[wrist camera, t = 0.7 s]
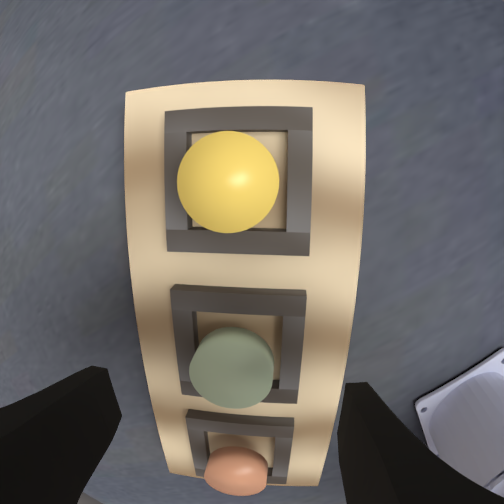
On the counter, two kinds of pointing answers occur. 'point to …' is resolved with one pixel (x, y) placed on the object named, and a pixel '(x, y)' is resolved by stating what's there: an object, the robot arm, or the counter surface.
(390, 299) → the counter surface
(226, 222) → the mustard button
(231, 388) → the sage button
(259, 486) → the terracotta button
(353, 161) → the button console
